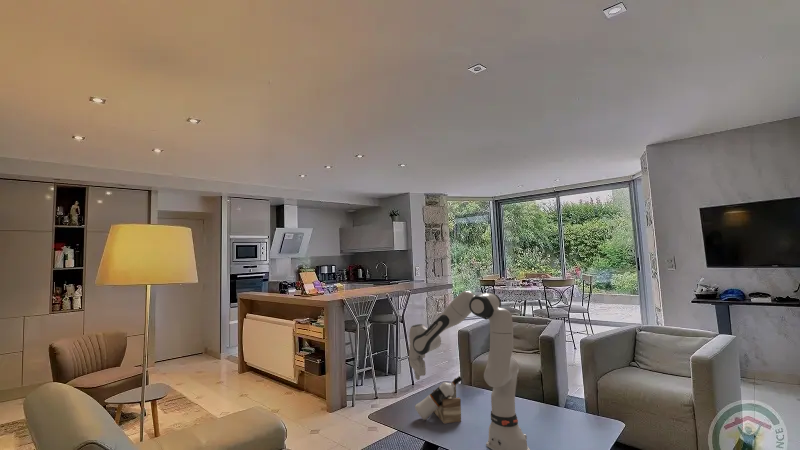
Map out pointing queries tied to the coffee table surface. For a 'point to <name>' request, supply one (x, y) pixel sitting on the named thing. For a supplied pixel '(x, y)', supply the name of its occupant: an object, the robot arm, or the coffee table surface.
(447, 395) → the vodka
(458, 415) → the cradle
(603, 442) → the coffee table surface
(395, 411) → the coffee table surface
